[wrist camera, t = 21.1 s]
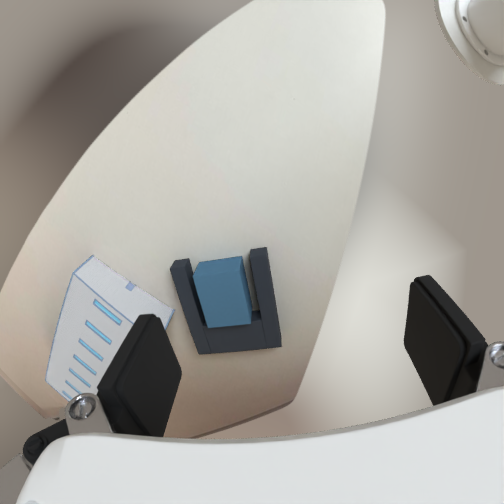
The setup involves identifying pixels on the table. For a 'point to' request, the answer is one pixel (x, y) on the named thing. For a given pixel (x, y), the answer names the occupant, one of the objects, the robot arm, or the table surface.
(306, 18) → the table surface
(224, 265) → the blue rectangular block
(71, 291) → the warehouse
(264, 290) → the dark grey u-frame
